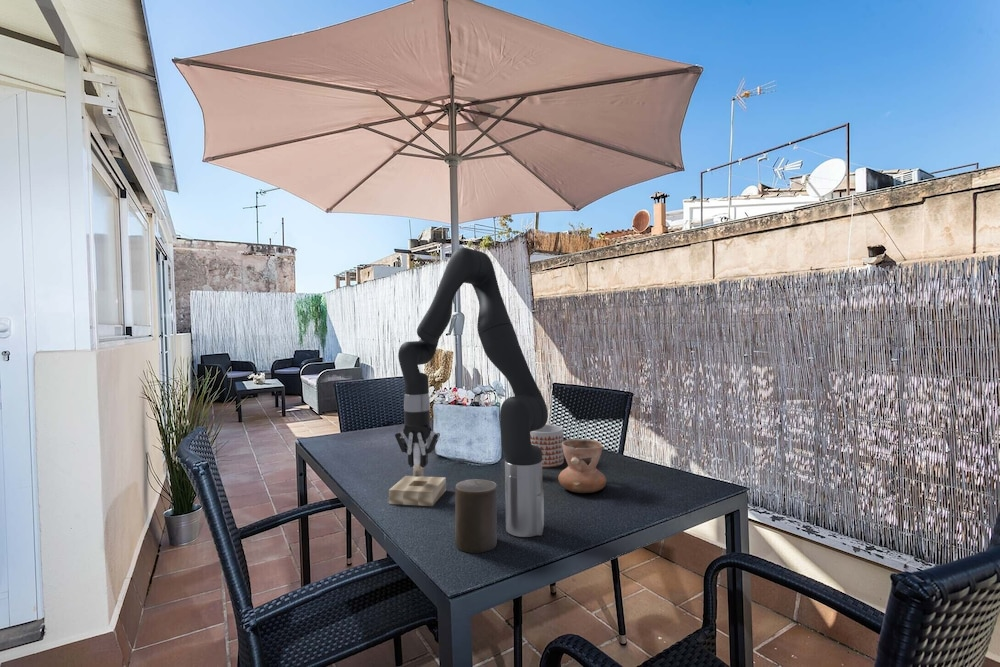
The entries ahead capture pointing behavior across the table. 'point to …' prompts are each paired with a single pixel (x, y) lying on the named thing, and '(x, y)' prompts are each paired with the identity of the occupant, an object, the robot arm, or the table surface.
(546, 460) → the planter
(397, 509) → the table surface
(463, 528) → the pillar candle
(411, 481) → the oak hole block
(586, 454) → the terracotta incense burner
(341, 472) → the table surface
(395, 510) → the table surface
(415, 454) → the steel pin
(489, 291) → the robot arm
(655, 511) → the table surface
